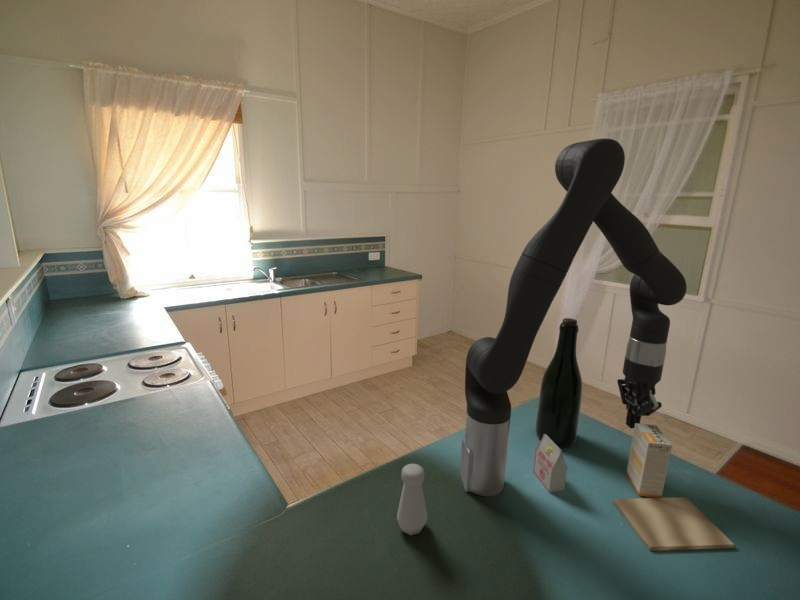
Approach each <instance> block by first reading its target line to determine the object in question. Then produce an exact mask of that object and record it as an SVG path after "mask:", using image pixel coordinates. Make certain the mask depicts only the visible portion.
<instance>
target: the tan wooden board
mask: <svg viewBox="0 0 800 600" xmlns="http://www.w3.org/2000/svg"><path fill="white" fill-rule="evenodd" d="M612 504H613V505H614V506H615V507H616V509H617V510H618V512H619V513H620V514H621V515H622V516H623V518H624V519H625V520H626V522H627V523H628V524H629V526H630V527H631V528H632V530H633V531H634V532H635V533H636V535H637V536H638V537H639V539H640V540H641V541H642V542H643V544H644V545H645V546H646V548H647V549H648V551H650V552H652V551H680V550H681V551H682V550H708V549H709V550H710V549H714V550H715V549H716V550H717V549H734V547H735V543H733V542H732V541H731V540H730V538H728V537H727V536H726V534H724V533H723V532H722V531H721V530H720V529H719V528H718V527H717V526H716V525H715V524H714V523H713V522H712V521H711V520H710V519H709V518H708V517H707V516H706V515H705V514H704V513H703V512H702V511H701V510H700V509H698V507H697V506H696V505H695V504H694V503H693V502H692V501H690V500H689V499H688V498H687V497H685V496H684V497H683V496H682V497H681V496H680V497H662V498H653V497H645V498H643V497H641V498H613V499H612Z"/></svg>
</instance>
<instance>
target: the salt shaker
mask: <svg viewBox="0 0 800 600" xmlns="http://www.w3.org/2000/svg"><path fill="white" fill-rule="evenodd" d="M401 480H402V482H403V486H402V491H401V493H400V500H399V504H398V509H397V514H396V521H397V523H398V526H399V527H400V529H401V531H402V532H403V533H405V534H407V535H409V536H414V535H417V534H420V533H421V532H422V529H423V528H424V527H425V525H426V523H427V520H428V512H427V508H426V507H427V506H426V501H425V494H424V489H423V482H424V480H425V469H424V468H423V467H422V466H421V465H419V464H417V463H409V464H406V465H405V466H404V467H402V470H401Z"/></svg>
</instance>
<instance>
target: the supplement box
mask: <svg viewBox="0 0 800 600" xmlns="http://www.w3.org/2000/svg"><path fill="white" fill-rule="evenodd" d="M632 433H633V435H632V439H631V444H630V449H629V450H630V451H629V456H628V461H627V467H626V474H627V476H628V478H629V479H630V483H631V484H632V485H633V487H634V489H635V491H636V493H637V495H638V496H640V497H645V498H663V497H662V496H663V493H664V486H665V482H666V478H667V471H668V468H669V463H670V459H671V454H672V449H673V445H672V444H671V442H670V441H669V439H668V438H667V437H666V436H665V434H664V433H663V432H662V430H661V429H660V427H659V426H658V425H657V424H656V425H655V424H648V423H641V422H640V423H635V427H634V428H633V432H632Z"/></svg>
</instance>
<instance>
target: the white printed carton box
mask: <svg viewBox="0 0 800 600" xmlns="http://www.w3.org/2000/svg"><path fill="white" fill-rule="evenodd" d="M533 460H534V461H533V470H532V473H533V474H534V475H535V477H536V478H537V479H538V481H539V482H540V483H541V484H542V486H543V487H544V488H545V490H546V491H547V492H548V493H555V492H561V491H565V486H566V479H567V472H568V465H567V463H566V460H565V457H564V454H563V450H562V449H561V447H558V446H557V445H556V444H555V443H554V442H553V441H552V440H551V439H550V438H549V437H548V436H547V435H546V434H544V435H543V437H542V439H540V441H539V443H538V445H537V446H536V449H535V451H534V459H533Z"/></svg>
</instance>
